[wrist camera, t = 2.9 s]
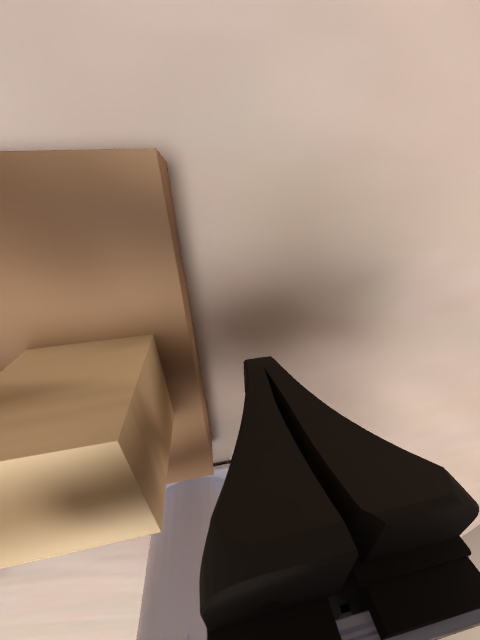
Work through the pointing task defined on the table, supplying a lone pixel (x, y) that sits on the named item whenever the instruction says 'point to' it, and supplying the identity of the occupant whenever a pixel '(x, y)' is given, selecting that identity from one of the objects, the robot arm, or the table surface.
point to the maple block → (82, 447)
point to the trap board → (101, 271)
